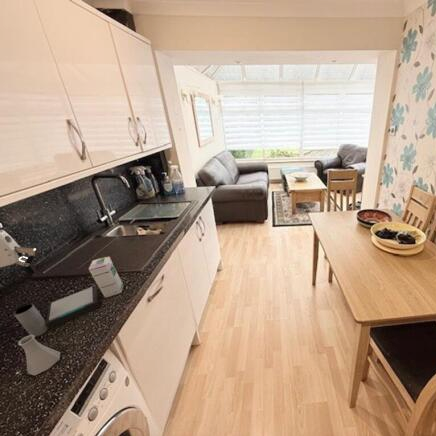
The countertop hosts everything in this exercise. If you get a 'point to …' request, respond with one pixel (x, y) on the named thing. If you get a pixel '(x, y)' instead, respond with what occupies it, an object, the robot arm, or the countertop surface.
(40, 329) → the planter
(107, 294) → the syrup box
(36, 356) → the flask
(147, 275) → the countertop surface
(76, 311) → the scale
